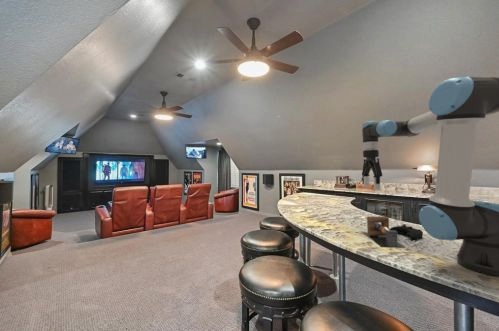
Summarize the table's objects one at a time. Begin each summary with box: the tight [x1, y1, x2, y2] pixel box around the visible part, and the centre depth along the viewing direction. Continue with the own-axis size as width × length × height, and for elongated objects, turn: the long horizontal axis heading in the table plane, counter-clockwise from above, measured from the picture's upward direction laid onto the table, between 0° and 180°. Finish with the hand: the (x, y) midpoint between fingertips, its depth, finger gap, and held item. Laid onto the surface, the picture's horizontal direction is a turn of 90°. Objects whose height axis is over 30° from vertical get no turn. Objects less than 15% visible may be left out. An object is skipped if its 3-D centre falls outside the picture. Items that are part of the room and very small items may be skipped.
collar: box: [366, 215, 390, 236], centre depth 112 cm, size 3×9×9 cm, turn 83°
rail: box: [362, 222, 406, 249], centre depth 108 cm, size 21×10×7 cm, turn 173°
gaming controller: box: [389, 223, 424, 241], centre depth 112 cm, size 14×6×10 cm
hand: (371, 188), depth 120 cm, fingers open, 13 cm apart
